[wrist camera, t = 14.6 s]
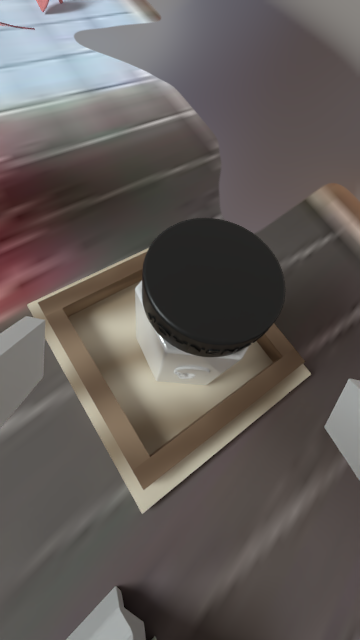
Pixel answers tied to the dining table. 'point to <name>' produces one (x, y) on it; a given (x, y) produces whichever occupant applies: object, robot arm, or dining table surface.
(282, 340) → the jar stand
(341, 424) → the robot arm
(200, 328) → the jar
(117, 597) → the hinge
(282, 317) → the dining table surface
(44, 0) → the figurine
